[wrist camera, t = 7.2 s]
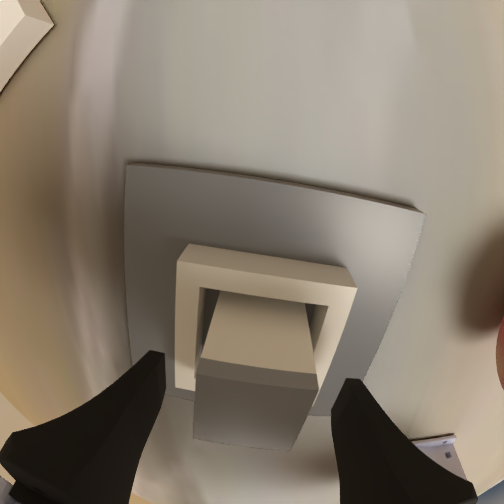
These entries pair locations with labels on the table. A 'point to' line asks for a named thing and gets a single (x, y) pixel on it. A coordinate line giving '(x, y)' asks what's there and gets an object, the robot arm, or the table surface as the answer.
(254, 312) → the block
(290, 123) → the table surface
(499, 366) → the decorative fruit
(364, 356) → the outlet plate
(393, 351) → the table surface
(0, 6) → the bracket
